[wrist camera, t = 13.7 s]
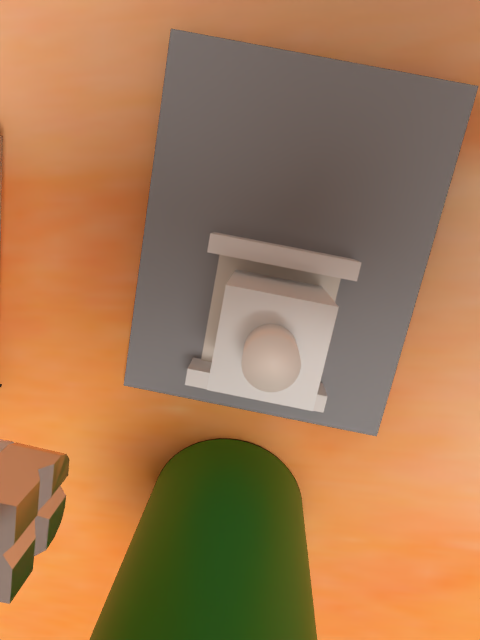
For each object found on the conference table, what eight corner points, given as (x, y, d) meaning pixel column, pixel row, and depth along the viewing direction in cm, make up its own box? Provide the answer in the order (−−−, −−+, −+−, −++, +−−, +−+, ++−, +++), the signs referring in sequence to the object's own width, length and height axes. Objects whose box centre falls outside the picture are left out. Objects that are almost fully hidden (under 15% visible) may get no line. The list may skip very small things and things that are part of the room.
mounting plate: (174, 35, 23) (161, 10, 20) (471, 90, 23) (499, 73, 20) (127, 380, 28) (112, 398, 25) (373, 430, 27) (385, 453, 25)
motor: (139, 523, 30) (-95, 1078, 11) (183, 414, 28) (-5, 858, 9) (273, 576, 30) (283, 1208, 11) (327, 473, 28) (459, 1028, 9)
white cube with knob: (235, 269, 25) (221, 292, 17) (321, 286, 25) (347, 317, 17) (220, 351, 26) (200, 408, 18) (302, 367, 26) (318, 432, 18)
